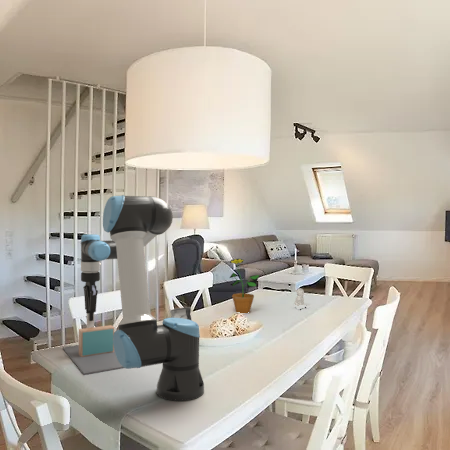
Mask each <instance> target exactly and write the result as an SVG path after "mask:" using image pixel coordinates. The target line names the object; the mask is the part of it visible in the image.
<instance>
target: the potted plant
mask: <svg viewBox="0 0 450 450" xmlns="http://www.w3.org/2000/svg"><path fill="white" fill-rule="evenodd" d="M244 261H245V260H244V259H242V258H235V259H231V260H229V263H230V264H234V265H235V264H236V267H237V272H238V274H237V273H235V272H232V274H231V275H230V276H229V279H232V278H234V279H235V280H236V281H234V282H232V283H230V286H232V287H234V286H237V285H238V284H239V283H241V286H242V292H239V293H238V292H237V293H233V294H232V295H231V296H232V301H233V305H234V308H235V312H240V313H248V312H249V313H251V309H252V305H253V301H254V298H255V295H254V294H252V293H251V294H250V293H247V292H245V291H244V287H245V286H246V285H247V289H250V288H254V287H256V286H257V282H258V279H259V278H260V274H257V275H256V274H255V275H250V276H249V278H248V280H247V281H246V282H245V284H244V283H243V279H242V276H241V274H240V270H239V266H238V264H241V263H244ZM236 277H239V278H240V280H238V279H237V278H236ZM250 279H251V281H250ZM244 292H245V293H244ZM249 313H248V314H249Z"/></svg>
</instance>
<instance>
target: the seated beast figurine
mask: <svg viewBox="0 0 450 450" xmlns="http://www.w3.org/2000/svg"><path fill="white" fill-rule="evenodd" d="M294 292H295V293H296V295H297V296H296V297H295V300H294V303H293V305H294V304H295V305H297V306H299V305H304V304H305V301H304V300H305V299H304V295H305V291H304V289H303V288H297V289H295V290H294Z"/></svg>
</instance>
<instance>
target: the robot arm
mask: <svg viewBox="0 0 450 450" xmlns="http://www.w3.org/2000/svg"><path fill="white" fill-rule="evenodd" d="M173 216H174V215H173V211H172V209H171V207H170V205H169V204H168V203H167V202H166V201H165V200H163V199H162V198H160V197H156V196H146V195H145V196H140V195H124V194H122V195H113V196H110V197H109V198H108V199H107V200H106V202H105V205H104V209H103V215H102V228H103V230H104V232H106V233H109V235H110V240H101V235H99V234H96V233H95V234H94V233H93V234H92V233H91V234H90V233H88V234H82V235H81V237H80V238H81V240H80V271H81V273H80V281H81V282H83V283H84V284H85V285H84V286H83V292H84V296H83V297H84V310H85V312H86V328H92V327H95V313H96V312H97V301H98V300H97V298H98V293H99V291H98V290H97V285H96V283H97V282H99V281H100V280H101V273H100V270H101V269H100V268H101V265H102V263H101V262H103V261H104V260H117V270H118V279H119V289H120V290H119V291H120V299H121V300H120V303H121V310H122V311H121V313H122V320H121V321H120V322H119V323H118V329H117V330H116V331H115V330H114V335H113V338H114V339H113V345H114V350H115V354H116V357H117V359H118V361H119V363H120V365H121V366H122V367H124V368H123V369H128V370H131V369H140V368H145V367H148V366H149V367H150V366H155V365H160V364H162V367H161V368H162V369H161V372H160V374H159V378H158V380H157V384H156V394H157V395H158V397H160V398H163V399H164V400H169V401H176V402H177V401H178V402H179V401H180V402H185V401H190V400H194V399H197V398H200V397H201V396H202V395H204V392H205V382H204V379H203V376H202V373H201V370H200V338H201V336H200V326H199V324H198V323H197V322H196V321H193V320H192V319H191V320H188V319H183V318H171V317H166V318H164V319H163V320H162V322H161V323H162V324H158V322H157V318H155V317H154V316H153V315H152V314H151V312H152V311H151V304H150V294H149V284H148V275H147V265H146V258H145V257H146V256H145V247H146V246H147V245H148V244H149V243H150V242H151V241H152V240H153V239H155V238H156V237H157V236H160V235H163V234H164V233H165V232H167V231H168V230H169V229H170V227H171V226H172V223H173V218H174V217H173Z"/></svg>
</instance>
